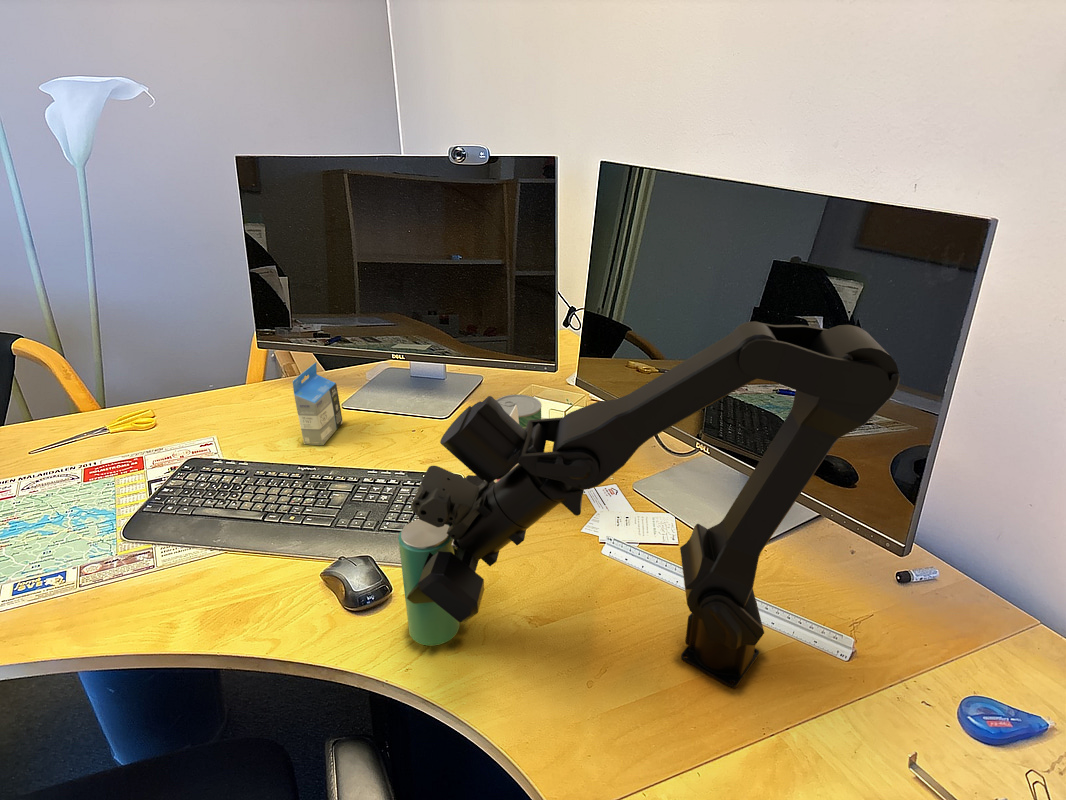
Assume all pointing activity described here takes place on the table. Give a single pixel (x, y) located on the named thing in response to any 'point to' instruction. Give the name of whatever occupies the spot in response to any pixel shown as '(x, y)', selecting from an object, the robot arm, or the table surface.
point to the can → (415, 545)
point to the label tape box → (317, 406)
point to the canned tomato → (522, 407)
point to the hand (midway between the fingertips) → (418, 580)
